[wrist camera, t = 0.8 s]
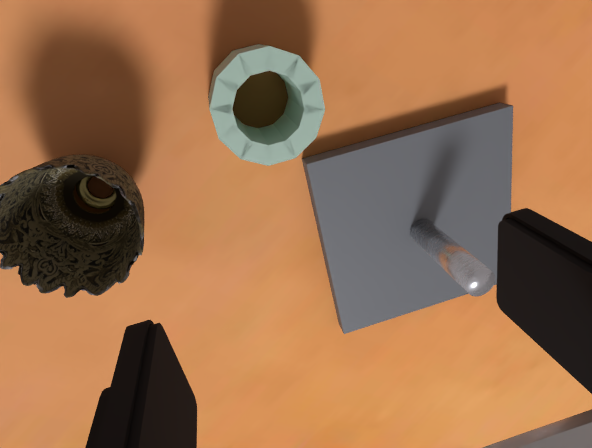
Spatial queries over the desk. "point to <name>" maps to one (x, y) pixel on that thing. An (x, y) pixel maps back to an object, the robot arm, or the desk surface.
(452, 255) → the rod
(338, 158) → the board
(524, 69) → the desk surface
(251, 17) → the desk surface
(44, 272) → the cup
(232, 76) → the bead
